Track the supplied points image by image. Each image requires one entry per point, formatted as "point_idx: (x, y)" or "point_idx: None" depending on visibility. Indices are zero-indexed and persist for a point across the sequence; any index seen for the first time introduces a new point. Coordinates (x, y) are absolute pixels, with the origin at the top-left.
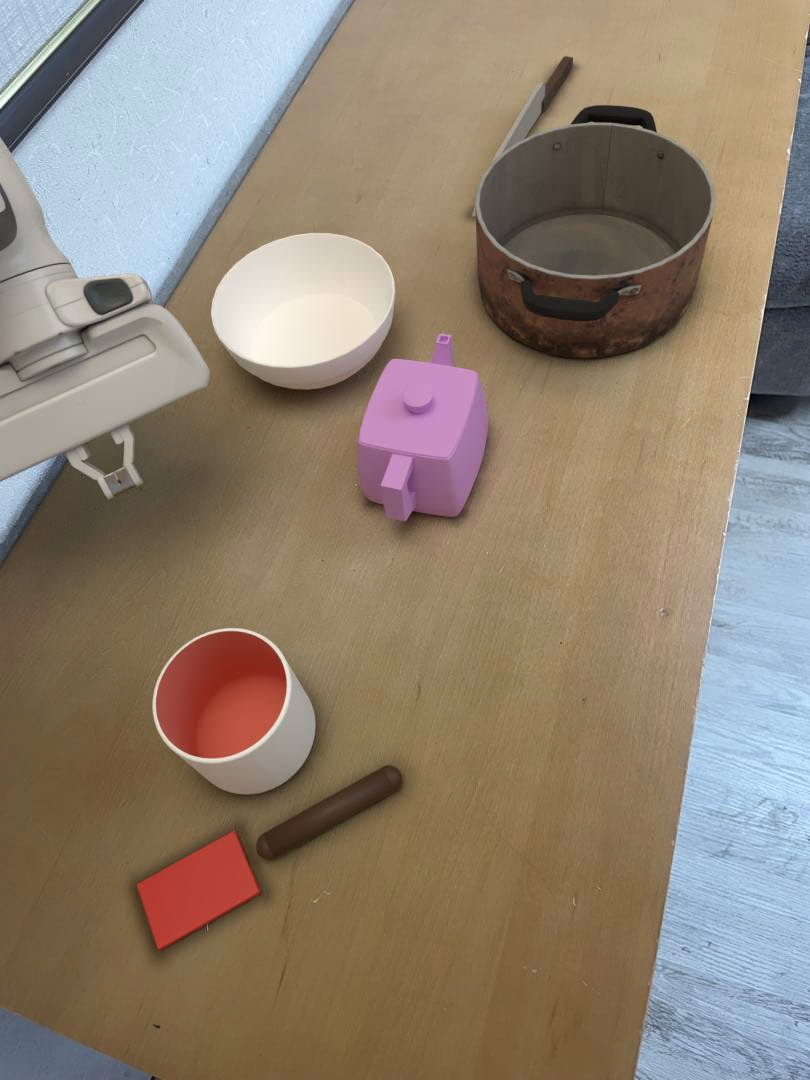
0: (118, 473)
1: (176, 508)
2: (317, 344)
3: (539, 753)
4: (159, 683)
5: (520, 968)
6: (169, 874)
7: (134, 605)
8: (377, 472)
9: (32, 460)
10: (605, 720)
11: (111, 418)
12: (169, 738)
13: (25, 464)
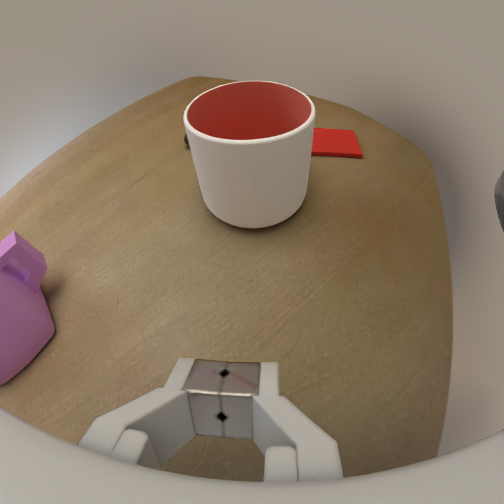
0: (211, 385)
1: (219, 469)
2: None
3: (125, 137)
4: (301, 125)
5: (199, 91)
6: (341, 149)
7: (319, 369)
8: (15, 290)
9: (475, 453)
10: (94, 142)
11: (64, 468)
12: (308, 112)
13: (496, 440)
